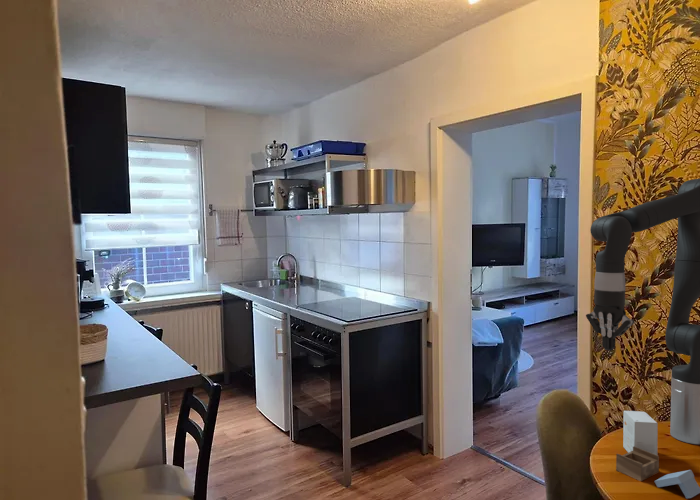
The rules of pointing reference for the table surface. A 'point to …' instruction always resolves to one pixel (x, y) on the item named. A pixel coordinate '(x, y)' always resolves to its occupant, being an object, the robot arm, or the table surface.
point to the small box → (639, 431)
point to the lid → (681, 482)
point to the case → (638, 464)
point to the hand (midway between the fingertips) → (608, 349)
